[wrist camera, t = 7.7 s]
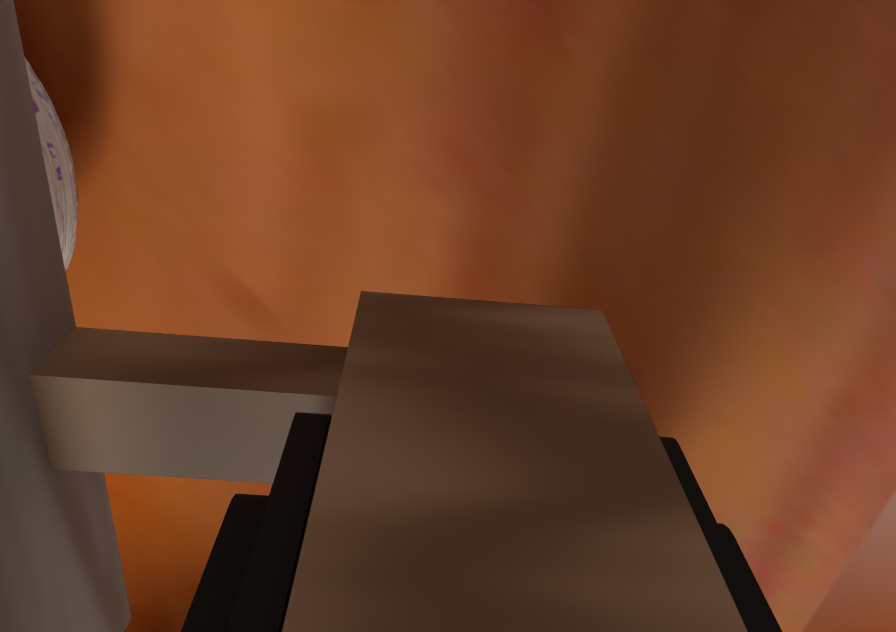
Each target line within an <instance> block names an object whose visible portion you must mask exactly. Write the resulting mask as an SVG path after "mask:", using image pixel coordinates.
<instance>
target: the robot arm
mask: <svg viewBox="0 0 896 632" xmlns="http://www.w3.org/2000/svg"><path fill="white" fill-rule="evenodd" d="M331 419H332V417H331V414H317V413H303V412H296V413H295V415H294V418H293V421H292V424H291V427H290V430H289V434H288V437H287V440H286V443H285V446H284V450H283V453H282V456H281V459H280V462H279V466H278V469H277V472H276V475H275V478H274V482H273V485H272V488H271V491H270V494H269V496H264V495H248V494H235V496H234V497H233V498H232V500H231V502H230V504H229V507H228V509H227V512H226V514H225V517H224V520H223V522H222V525H221V528H220V530H219V533H218V535H217V538H216V541H215V543H214V546H213V549H212V551H211V554H210V557H209V559H208V562H207V564H206V567H205V570H204V572H203V575H202V578H201V580H200V583H199V585H198V588H197V591H196V593H195V596H194V599H193V601H192V604H191V607H190V609H189V612H188V614H187V617H186V620H185V622H184V625H183V628H182V630H181V632H282V630H283V626H284V621H285V617H286V613H287V608H288V604H289V600H290V595H291V591H292V587H293V583H294V578H295V574H296V570H297V565H298V561H299V557H300V552H301V548H302V544H303V540H304V535H305V531H306V527H307V522H308V518H309V514H310V509H311V505H312V501H313V496H314V492H315V488H316V484H317V479H318V475H319V471H320V466H321V462H322V458H323V453H324V449H325V445H326V441H327V436H328V432H329V428H330V423H331ZM660 440H661V442H662V444H663V446H664V448H665V451H666V453H667V455H668V457H669V459H670V462H671V464H672V466H673V468H674V470H675V473H676V475H677V477H678V479H679V481H680V484H681V486H682V488H683V490H684V492H685V495H686V497H687V499H688V501H689V504H690V506H691V508H692V510H693V512H694V515H695V517H696V519H697V521H698V523H699V526H700V528H701V530H702V532H703V534H704V537H705V539H706V541H707V543H708V545H709V548H710V550H711V552H712V554H713V556H714V559H715V561H716V563H717V565H718V568H719V570H720V572H721V574H722V576H723V579H724V581H725V583H726V585H727V587H728V590H729V592H730V594H731V596H732V598H733V601H734V603H735V605H736V607H737V609H738V612H739V614H740V616H741V618H742V620H743V623H744V625H745V627H746V629H747V632H782V630H781V628H780V626H779V624H778V622H777V620H776V618H775V616H774V614H773V612H772V610H771V608H770V607H769V605H768V603H767V601H766V599H765V597H764V595H763V593H762V591H761V589H760V587H759V585H758V583H757V581H756V579H755V577H754V575H753V573H752V571H751V569H750V567H749V565H748V563H747V561H746V559H745V557H744V555H743V553H742V551H741V549H740V547H739V545H738V543H737V541H736V539H735V537H734V535H733V534H732V532H731V531H730V529H729V528H728V527H727V526H725V525H724V524H718V523H717V522H716V520H715V518H714V516H713V514H712V512H711V510H710V508H709V506H708V503H707V501H706V499H705V497H704V495H703V493H702V491H701V489H700V487H699V485H698V483H697V481H696V479H695V477H694V475H693V473H692V470H691V468H690V466H689V464H688V462H687V460H686V458H685V456H684V454H683V452H682V450H681V448H680V446H679V444H678V442H677V441H676V439H674V438H669V437H660Z"/></svg>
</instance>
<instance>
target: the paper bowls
mask: <svg viewBox="0 0 896 632" xmlns="http://www.w3.org/2000/svg"><path fill="white" fill-rule="evenodd" d="M24 58H25V57H24ZM25 63H26V68H27V73H28V78H29V84H30V89H31V94H32V99H33V105H34V110H35V115H36V120H37V126H38V131H39V136H40V141H41V147H42V152H43V157H44V162H45V167H46V173H47V178H48V183H49V188H50V194H51V199H52V204H53V209H54V215H55V220H56V225H57V230H58V235H59V241H60V246H61V251H62V256H63V262H64V267H65V271H66V269H67V268H68V265H69V263H70V260H71V257H72V253H73V249H74V246H75V239H76V223H77V215H78V194H77V187H76V180H75V170H74V164H73V159H72V155H71V152H70V148H69V144H68V141H67V139H66V136H65V133H64V130H63V127H62V125H61V122H60V120H59V118H58V116H57V114H56V111H55V108H54V106H53V104H52V102H51V99H50V97H49V96H48V94H47V92H46V90H45V88H44V86H43V85H42V83H41V82H40V80H39V79H38V78H37V76H36V74H35V73H34V71H33V69H32V67H31V65H30V64H29V62H28V61H27V59H26V58H25Z"/></svg>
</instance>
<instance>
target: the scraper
mask: <svg viewBox="0 0 896 632" xmlns="http://www.w3.org/2000/svg"><path fill="white" fill-rule="evenodd" d="M296 412H303V413H317V414H331V417H332V419H331V423H330V428H329V432H328V436H327V441H326V445H325V449H324V453H323V458H322V462H321V466H320V471H319V475H318V479H317V484H316V488H315V492H314V496H313V501H312V505H311V509H310V514H309V518H308V522H307V527H306V531H305V535H304V540H303V544H302V548H301V552H300V557H299V561H298V565H297V570H296V574H295V578H294V583H293V587H292V591H291V595H290V600H289V604H288V608H287V613H286V617H285V621H284V626H283V630H282V632H747V629H746V627H745V625H744V623H743V620H742V618H741V616H740V614H739V612H738V609H737V607H736V605H735V603H734V601H733V598H732V596H731V594H730V592H729V590H728V587H727V585H726V583H725V581H724V579H723V576H722V574H721V572H720V570H719V568H718V565H717V563H716V561H715V559H714V556H713V554H712V552H711V550H710V548H709V545H708V543H707V541H706V539H705V537H704V534H703V532H702V530H701V528H700V526H699V523H698V521H697V519H696V517H695V515H694V512H693V510H692V508H691V506H690V504H689V501H688V499H687V497H686V495H685V492H684V490H683V488H682V486H681V484H680V481H679V479H678V477H677V475H676V473H675V470H674V468H673V466H672V464H671V462H670V459H669V457H668V455H667V453H666V451H665V448H664V446H663V444H662V442H661V440H660V437H659V435H658V433H657V431H656V428H655V426H654V424H653V422H652V420H651V417H650V415H649V413H648V411H647V409H646V406H645V404H644V402H643V400H642V398H641V395H640V393H639V391H638V389H637V387H636V384H635V382H634V380H633V378H632V376H631V373H630V371H629V369H628V367H627V364H626V362H625V360H624V358H623V356H622V353H621V351H620V349H619V347H618V345H617V342H616V340H615V338H614V336H613V334H612V331H611V329H610V327H609V325H608V323H607V320H606V318H605V316H604V314H603V312H602V310H595V309H582V308H570V307H557V306H544V305H532V304H519V303H506V302H493V301H481V300H468V299H455V298H443V297H430V296H417V295H404V294H392V293H379V292H366V291H361V294H360V299H359V303H358V307H357V311H356V316H355V320H354V324H353V329H352V333H351V337H350V342H349V346H348V347H337V346H323V345H310V344H296V343H283V342H270V341H256V340H243V339H229V338H216V337H202V336H189V335H175V334H162V333H148V332H135V331H121V330H108V329H94V328H81V327H76V324H75V319H74V314H73V309H72V304H71V298H70V293H69V288H68V283H67V277H66V272H65V267H64V262H63V256H62V251H61V246H60V241H59V235H58V230H57V225H56V220H55V215H54V209H53V204H52V199H51V194H50V188H49V183H48V178H47V173H46V167H45V162H44V157H43V152H42V147H41V141H40V136H39V131H38V126H37V120H36V115H35V110H34V105H33V99H32V94H31V89H30V84H29V78H28V73H27V68H26V63H25V58H24V52H23V47H22V42H21V37H20V31H19V26H18V21H17V16H16V10H15V5H14V0H0V632H125V630H126V628H127V626H128V624H129V621H130V619H131V612H130V607H129V602H128V597H127V591H126V586H125V581H124V576H123V570H122V565H121V560H120V555H119V550H118V544H117V539H116V534H115V529H114V523H113V518H112V513H111V508H110V502H109V497H108V492H107V487H106V481H105V476H104V473H117V474H133V475H149V476H165V477H181V478H197V479H212V480H228V481H244V482H260V483H273V482H274V478H275V475H276V472H277V469H278V466H279V462H280V459H281V456H282V453H283V450H284V446H285V443H286V440H287V437H288V434H289V430H290V427H291V424H292V421H293V418H294V415H295V413H296Z"/></svg>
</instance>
